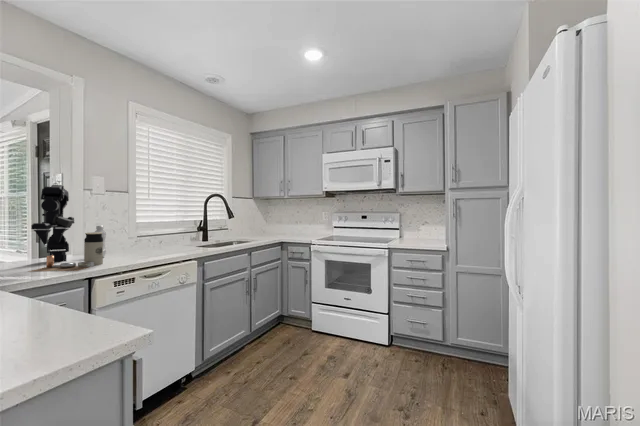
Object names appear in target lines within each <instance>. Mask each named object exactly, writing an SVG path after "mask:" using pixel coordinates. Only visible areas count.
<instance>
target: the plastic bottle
mask: <svg viewBox="0 0 640 426" xmlns="http://www.w3.org/2000/svg"><path fill="white" fill-rule="evenodd" d="M94 232H102V238H103V258H104V257H106V254H107V251H106V250H107V249H106V244H105V243H106V236H107V234H106V232H105V230H104V225H96V228H95V231H94Z"/></svg>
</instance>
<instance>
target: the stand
mask: <svg viewBox="0 0 640 426" xmlns="http://www.w3.org/2000/svg"><path fill="white" fill-rule="evenodd" d="M92 267H95V265H94V262H84V261H79V262H77V265H76V267H70V268H60V267H49V268H47V267H46V266H44V267H41V268H36V269H33V270H29V271H27V273H28V272H30V273H31V272H39V273H41V272H43V273H44V272H79V271H82V270H86V269H89V268H92Z"/></svg>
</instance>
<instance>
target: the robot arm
mask: <svg viewBox="0 0 640 426" xmlns="http://www.w3.org/2000/svg"><path fill="white" fill-rule="evenodd" d="M41 200H42V202H41V205H40V206H41V209H42V210H43V211H44V213H42V214H41V215H42V217H44V221H43V222H41V223H40V222H37V223H36V222H35V223H34V222H33V223H32V224H31V227H30V229H31V230H33V231H34V232H35V234H36V235H37V236H38V237H39V239H40V241H41V242H42V244H43V245H46V253H47V254H49V255H48V256H54V263H59V262H60V263H61V262H63V263H64V262H67V254H66V253H69V252H70V247H69V246H70V244H69V242H68V240H67V238H66V237H65V236H64V234H65V232H66V231H68V230H69V229H70V228H72V225H73V224H75V217H72V216H68V217H64V209H65V208H66V207H67V205H68V202H69V201H70V196H69V191H68V190H67V189H66V188H65V186H64V185H62V184H53V185H52V184H51V185H50V186H44V187H43V188H42V189H41V196H40V201H41ZM51 228H52V229H51ZM51 231H52V234H51V235H50V236H49V233H50V232H51Z"/></svg>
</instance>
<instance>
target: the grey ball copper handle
mask: <svg viewBox="0 0 640 426" xmlns="http://www.w3.org/2000/svg"><path fill="white" fill-rule="evenodd" d="M76 266H77V263H76V262H71V261H70V262H63V263H61V262H60V264H55V262H54V256H49V255H47V256H46V266H45V267H47V268H49V267H60V268H70V267H76Z"/></svg>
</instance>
